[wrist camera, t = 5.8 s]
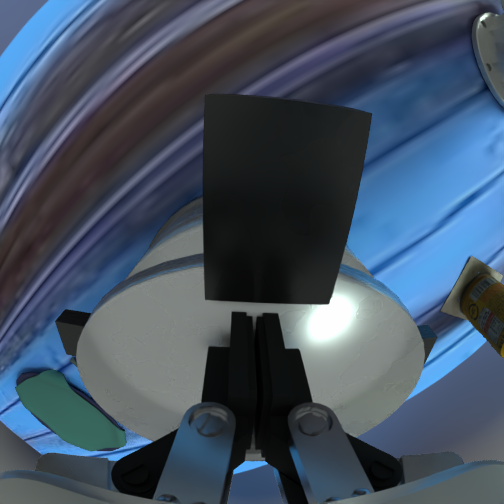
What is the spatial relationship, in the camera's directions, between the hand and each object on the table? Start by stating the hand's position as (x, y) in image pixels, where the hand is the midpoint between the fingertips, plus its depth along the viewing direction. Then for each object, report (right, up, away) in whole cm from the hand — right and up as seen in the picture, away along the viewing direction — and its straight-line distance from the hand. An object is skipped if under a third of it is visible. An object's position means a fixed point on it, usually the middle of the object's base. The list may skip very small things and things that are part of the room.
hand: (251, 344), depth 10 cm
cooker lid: (0, -3, +3) cm, 4 cm away
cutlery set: (-25, -19, +24) cm, 39 cm away
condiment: (+27, -1, +17) cm, 32 cm away
